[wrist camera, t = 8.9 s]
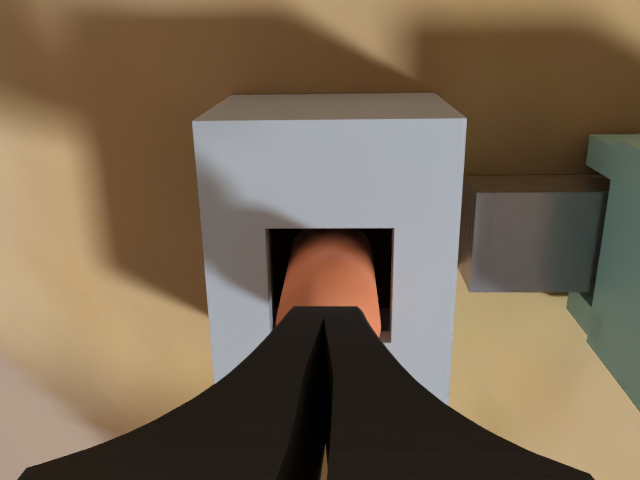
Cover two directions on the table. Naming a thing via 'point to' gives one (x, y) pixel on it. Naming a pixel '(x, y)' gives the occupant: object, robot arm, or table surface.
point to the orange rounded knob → (331, 273)
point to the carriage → (616, 265)
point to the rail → (531, 232)
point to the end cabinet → (333, 210)
